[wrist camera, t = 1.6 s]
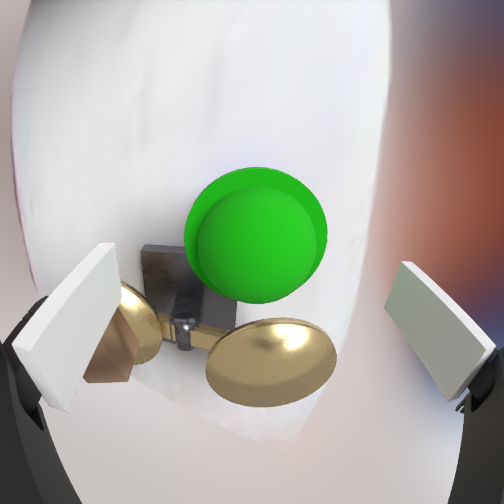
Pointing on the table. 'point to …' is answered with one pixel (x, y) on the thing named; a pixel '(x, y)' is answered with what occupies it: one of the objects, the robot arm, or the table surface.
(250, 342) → the balance
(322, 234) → the toy
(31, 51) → the table surface
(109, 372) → the walnut block
